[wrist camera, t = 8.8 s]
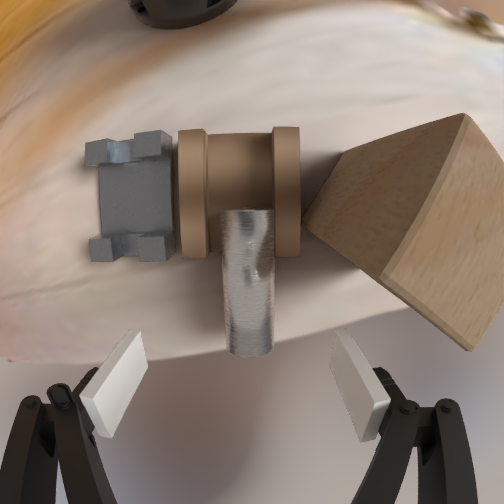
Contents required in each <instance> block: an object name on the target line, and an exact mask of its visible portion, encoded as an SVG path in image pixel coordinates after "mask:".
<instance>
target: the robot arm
mask: <svg viewBox="0 0 504 504" xmlns="http://www.w3.org/2000/svg"><path fill="white" fill-rule="evenodd" d="M128 2H129V5H130V8H131V10H132V11H133V13H134V14H135V15H136V17H137V18H138V19H139V20H140V21H141V22H143V23H144V24H146V25H149V26H152V27H156V28H164V29H173V28H183V27H188V26H192V25H196V24H200V23H203V22H205V21H208V20H210V19H213V18H215V17H217V16H218V15H220V14H222V13H224V12H225V11H226V10H228V9H229V8H230V7H232V6H233V5H234V4H235V3H236V2H237V0H128ZM147 368H148V365H147V360H146V356H145V351H144V347H143V342H142V337H141V333H140V331H138V330H129V331H128V332H127V333H126V335H125V336H124V337H123V338H122V340H121V341H120V342H119V343H118V345H117V346H116V347H115V349H114V350H113V351H112V352H111V354H110V355H109V356H108V358H107V359H106V360H105V362H104V363H103V364H102V366H101V367H100V368H97V367H94V368H93V369H91V370H90V371H88V372H87V374H86V375H85V376H84V378H83V379H82V380H81V381H80V383H79V384H78V385H77V386H76V388H75V389H74V390H73V392H71V390H70V388H69V386H68V385H66V384H63V383H58V384H54V385H52V386H51V387H49V389H48V390H47V396H48V398H49V400H50V402H51V404H43V403H42V402H41V400H40V398H39V397H38V396H34V395H31V396H27V397H25V398H24V399H23V400H22V402H21V403H20V406H19V409H18V411H17V414H16V417H15V420H14V423H13V426H12V429H11V432H10V435H9V439H8V442H7V446H6V450H5V453H4V457H3V461H2V465H1V469H0V504H55V497H56V479H57V468H58V458H59V463H60V469H61V474H62V478H63V483H64V488H65V492H66V496H67V500H68V503H69V504H117V501H116V499H115V497H114V494H113V492H112V489H111V487H110V484H109V482H108V479H107V476H106V473H105V470H104V468H103V465H102V462H101V459H100V456H99V452H98V449H97V446H96V442H95V438H94V436H93V434H92V432H93V430H94V428H95V429H96V431H97V433H98V435H100V436H104V437H108V438H112V437H113V434H114V432H115V430H116V428H117V426H118V424H119V422H120V420H121V418H122V416H123V414H124V412H125V410H126V408H127V406H128V405H129V403H130V401H131V399H132V396H133V395H134V393H135V391H136V389H137V387H138V385H139V383H140V381H141V379H142V377H143V375H144V374H145V372H146V370H147ZM330 369H331V371H332V373H333V376H334V378H335V380H336V383H337V385H338V388H339V390H340V393H341V395H342V397H343V400H344V402H345V405H346V407H347V410H348V412H349V415H350V417H351V420H352V422H353V425H354V427H355V430H356V432H357V435H358V438H359V440H360V442H365V441H369V440H374V439H376V436H377V434H378V432H379V434H380V436H381V440H380V442H379V444H378V446H377V448H376V452H375V454H374V456H373V459H372V461H371V463H370V466H369V468H368V470H367V472H366V475H365V477H364V479H363V481H362V483H361V485H360V487H359V489H358V491H357V493H356V495H355V497H354V499H353V500H352V503H351V504H394V503H395V501H396V498H397V495H398V493H399V490H400V487H401V484H402V481H403V478H404V475H405V472H406V469H407V466H408V462H409V459H410V455H411V452H412V448H413V447H417V451H418V504H478V498H477V489H476V481H475V474H474V468H473V462H472V457H471V453H470V447H469V442H468V438H467V434H466V430H465V426H464V422H463V418H462V414H461V411H460V407H459V405H458V404H457V402H455V401H454V400H451V399H446V398H445V399H441V400H439V401H438V402H437V403H436V405H435V407H420V406H419V405H418V404H417V403H416V402H414V401H411V400H407V399H406V398H405V396H404V395H403V393H402V392H401V390H400V389H399V387H398V386H397V385H396V384H395V382H394V380H393V379H392V377H391V376H390V374H389V373H388V372H387V371H386V370H384V369H383V368H381V367H378V368H371V366H370V365H369V363H368V361H367V360H366V358H365V357H364V355H363V354H362V352H361V350H360V349H359V347H358V346H357V344H356V343H355V341H354V339H353V338H352V336H351V335H350V333H349V332H348V330H347V329H337V330H335V331H334V340H333V347H332V354H331V361H330Z"/></svg>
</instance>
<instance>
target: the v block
mask: <svg viewBox="0 0 504 504" xmlns="http://www.w3.org/2000/svg"><path fill="white" fill-rule="evenodd" d="M85 166H96V167H99V189H100V210H101V224H102V235H99V236H97V237H94V238H91V239H89V245H90V253H91V261H92V262H114V261H115V260H117V259H119V258H120V257H122V256H139V260H140V262H141V261H167V260H168V259H169V258H170V257H171V256H172V255H174V254H175V253H176V246H175V231H174V212H173V184H172V136H170V135H168V134H167V133H165V132H164V131H162V130H157V131H149V132H142V133H136V134H134V139H130V140H124V141H118V142H117V141H114V140H111V139H108V138H107V139H102V140H97V141H92V142H87V143H85Z"/></svg>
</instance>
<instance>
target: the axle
mask: <svg viewBox="0 0 504 504" xmlns="http://www.w3.org/2000/svg"><path fill="white" fill-rule="evenodd" d="M220 229H221V256H222V279H223V299H224V317H225V333H226V347H227V349H228V351H229V352H231V353H232V354H234V355H236V356H240V357H248V358H249V357H259V356H263V355H265V354H267V353H269V352H270V351H271V350H272V349H273V347H274V303H275V209H274V208H259V207H247V208H228V209H221V210H220Z"/></svg>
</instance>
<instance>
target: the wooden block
mask: <svg viewBox="0 0 504 504" xmlns="http://www.w3.org/2000/svg"><path fill="white" fill-rule="evenodd" d="M301 225H302V226H303V227H305V228H306V229H307V230H309V231H310V232H312V233H313V234H314V235H316V236H317V237H318V238H320V239H321V240H323V241H324V242H325V243H327V244H328V245H329V246H331V247H332V248H333V249H335V250H336V251H337V252H339V253H340V254H341V255H343V256H344V257H345V258H347V259H348V260H349V261H351V262H352V263H353V264H354V265H356V266H357V267H358V268H360V269H361V270H362V271H364V272H365V273H366V274H367V275H369V276H370V277H371V278H372V279H374V280H375V281H376V282H378V283H379V284H380V285H382V286H383V287H384V288H386V289H387V290H388V291H390V292H391V293H392V294H394V295H395V296H396V297H398V298H399V299H400V300H402V301H403V302H404V303H406V304H407V305H408V306H410V307H411V308H412V309H414V310H415V311H416V312H418V313H419V314H420V315H421V316H423V317H424V318H425V319H427V320H428V321H429V322H430V323H432V324H433V325H434V326H435V327H437V328H438V329H439V330H441V331H442V332H443V333H444V334H446V335H447V336H448V337H449V338H450V339H452V340H453V341H454V342H455V343H457V344H458V345H459V346H460V347H461V348H463V349H464V350H465V351H472V350H473V349H475V348H476V346H477V345H478V343H479V342H480V340H481V339H482V337H483V336H484V334H485V333H486V331H487V330H488V328H489V327H490V325H491V323H492V322H493V320H494V318H495V317H496V315H497V313H498V312H499V310H500V308H501V306H502V305H503V303H504V162H503V160H502V159H501V157H500V156H499V154H498V153H497V151H496V150H495V149H494V147H493V146H492V144H491V143H490V142H489V140H488V139H487V138H486V136H485V135H484V134H483V132H482V131H481V130H480V128H479V127H478V126H477V125H476V123H475V122H474V121H473V120H472V118H471V117H470V116H468V115H467V114H464V113H460V114H457V115H453V116H450V117H446V118H443V119H439V120H436V121H433V122H429V123H426V124H423V125H420V126H416V127H413V128H410V129H407V130H404V131H401V132H398V133H395V134H392V135H389V136H386V137H383V138H380V139H377V140H374V141H371V142H369V143H366V144H363V145H360V146H357V147H355V148H352V149H349V150H347V151H345V152H344V153H343V155H342V156H341V158H340V159H339V161H338V163H337V164H336V166H335V167H334V169H333V170H332V172H331V174H330V175H329V177H328V178H327V180H326V181H325V183H324V184H323V186H322V188H321V189H320V191H319V192H318V194H317V195H316V197H315V198H314V200H313V201H312V203H311V205H310V206H309V208H308V209H307V211H306V212H305V214H304V215H303V217H302V218H301Z"/></svg>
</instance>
